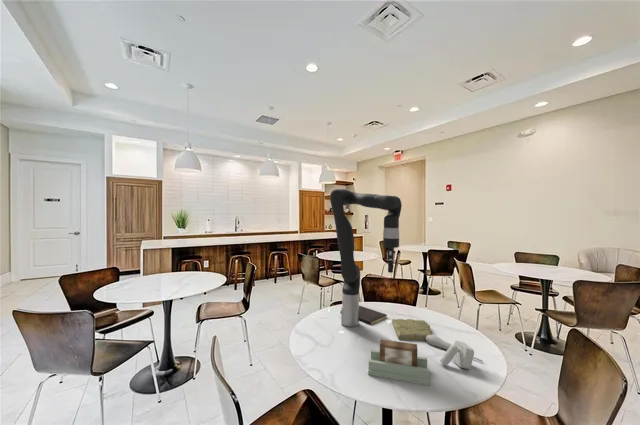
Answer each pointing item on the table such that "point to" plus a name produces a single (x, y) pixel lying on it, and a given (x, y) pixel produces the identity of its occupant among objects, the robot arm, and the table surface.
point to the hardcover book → (370, 315)
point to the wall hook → (459, 355)
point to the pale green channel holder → (399, 370)
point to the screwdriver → (440, 343)
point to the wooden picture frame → (398, 352)
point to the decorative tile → (411, 329)
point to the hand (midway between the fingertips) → (390, 270)
